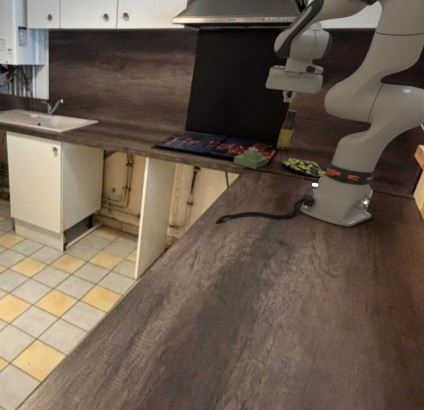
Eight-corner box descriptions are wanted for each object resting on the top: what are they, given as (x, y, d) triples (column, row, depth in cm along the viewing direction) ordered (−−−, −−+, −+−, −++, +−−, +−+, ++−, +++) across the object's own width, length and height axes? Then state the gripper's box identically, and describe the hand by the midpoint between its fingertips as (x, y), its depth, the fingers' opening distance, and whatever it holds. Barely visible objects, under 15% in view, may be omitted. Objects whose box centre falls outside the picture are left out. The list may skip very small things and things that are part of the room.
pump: (255, 155, 155) (256, 150, 154) (246, 153, 158) (247, 148, 157) (259, 154, 158) (260, 149, 157) (250, 152, 160) (251, 147, 160)
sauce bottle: (290, 151, 185) (302, 112, 177) (277, 150, 186) (288, 111, 178) (286, 148, 191) (297, 110, 183) (274, 146, 192) (284, 109, 184)
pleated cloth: (276, 162, 167) (284, 149, 165) (311, 177, 164) (319, 164, 162) (286, 168, 148) (294, 153, 146) (325, 184, 145) (335, 170, 143)
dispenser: (255, 169, 153) (258, 157, 150) (233, 162, 159) (235, 152, 157) (266, 164, 160) (269, 153, 158) (245, 158, 167) (247, 148, 165)
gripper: (268, 64, 148) (259, 99, 154) (323, 69, 135) (311, 106, 140) (274, 65, 152) (265, 98, 158) (328, 69, 139) (316, 105, 144)
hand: (287, 102), depth 149 cm, fingers closed
